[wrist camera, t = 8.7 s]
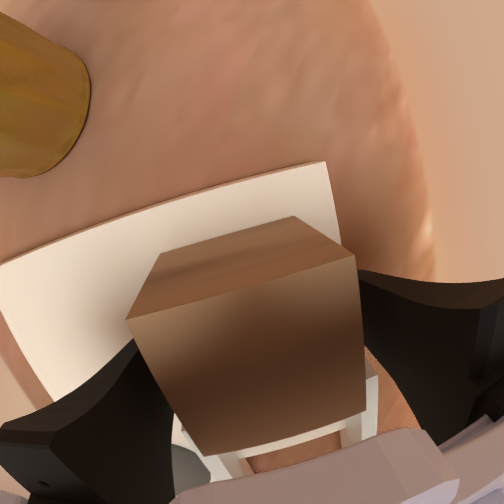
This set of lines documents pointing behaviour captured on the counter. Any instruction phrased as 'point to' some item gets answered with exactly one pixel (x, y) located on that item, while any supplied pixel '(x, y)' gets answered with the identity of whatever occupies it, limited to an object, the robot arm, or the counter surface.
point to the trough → (356, 431)
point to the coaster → (187, 469)
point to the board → (142, 276)
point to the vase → (37, 100)
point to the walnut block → (254, 334)
